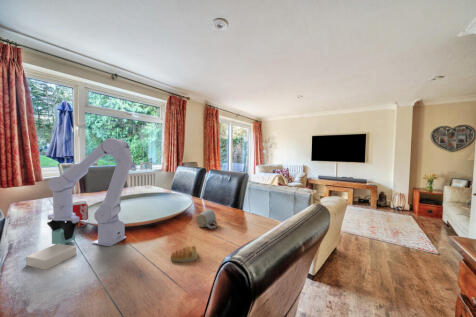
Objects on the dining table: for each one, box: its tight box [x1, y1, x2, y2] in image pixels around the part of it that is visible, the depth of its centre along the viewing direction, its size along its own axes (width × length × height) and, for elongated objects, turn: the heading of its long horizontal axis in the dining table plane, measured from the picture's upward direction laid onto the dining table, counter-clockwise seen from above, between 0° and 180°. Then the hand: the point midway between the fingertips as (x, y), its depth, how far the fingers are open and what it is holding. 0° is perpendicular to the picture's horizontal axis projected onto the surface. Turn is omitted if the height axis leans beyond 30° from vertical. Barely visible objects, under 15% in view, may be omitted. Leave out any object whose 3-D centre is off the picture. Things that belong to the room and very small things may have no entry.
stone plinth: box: [25, 243, 77, 270], centre depth 63 cm, size 9×9×3 cm
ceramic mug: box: [195, 208, 218, 230], centre depth 95 cm, size 11×8×8 cm
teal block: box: [51, 228, 76, 245], centre depth 74 cm, size 5×5×5 cm
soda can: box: [73, 200, 89, 229], centre depth 92 cm, size 7×7×12 cm
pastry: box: [170, 245, 198, 263], centre depth 66 cm, size 9×7×4 cm
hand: (63, 237), depth 74 cm, fingers closed on teal block, 5 cm apart
